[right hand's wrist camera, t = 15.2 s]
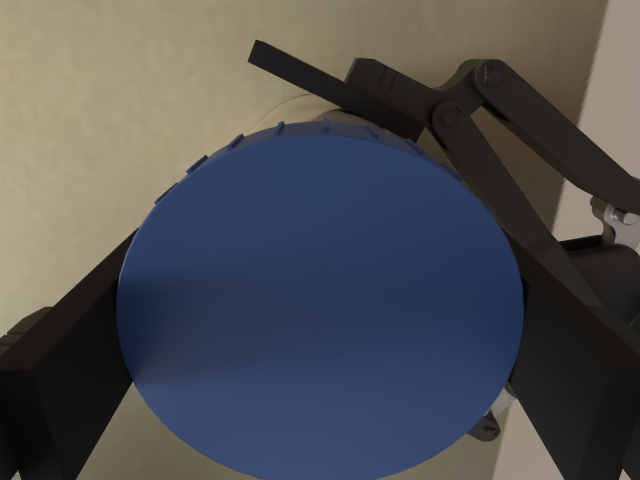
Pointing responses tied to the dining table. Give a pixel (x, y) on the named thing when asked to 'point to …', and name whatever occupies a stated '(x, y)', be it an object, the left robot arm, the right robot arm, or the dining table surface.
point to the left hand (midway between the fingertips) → (213, 165)
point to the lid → (320, 305)
